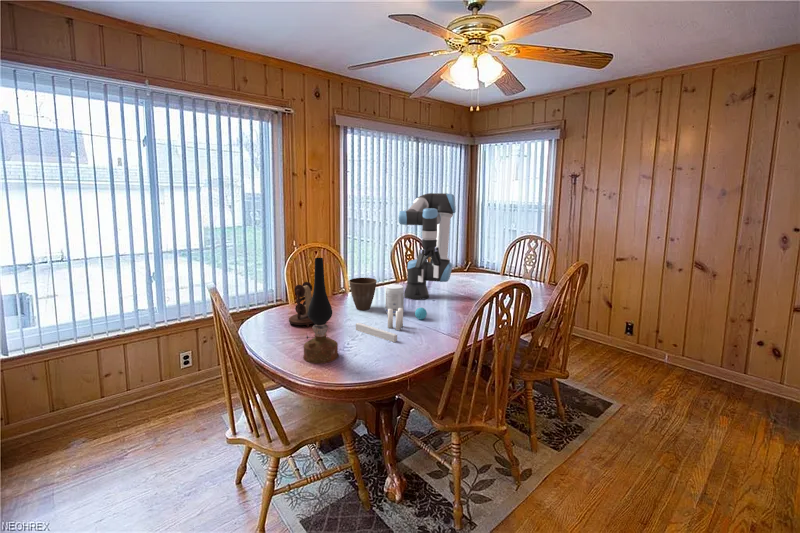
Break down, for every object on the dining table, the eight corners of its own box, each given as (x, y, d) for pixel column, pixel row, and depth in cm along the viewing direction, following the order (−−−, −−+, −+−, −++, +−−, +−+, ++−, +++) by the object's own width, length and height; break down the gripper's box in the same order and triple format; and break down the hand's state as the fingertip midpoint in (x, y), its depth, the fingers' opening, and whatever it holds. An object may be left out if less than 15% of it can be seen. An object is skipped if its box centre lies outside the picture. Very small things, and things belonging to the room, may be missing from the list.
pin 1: (390, 326, 201) (390, 308, 200) (393, 327, 200) (394, 309, 198) (386, 327, 199) (386, 309, 198) (390, 328, 198) (390, 310, 196)
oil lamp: (339, 358, 171) (352, 261, 171) (335, 367, 156) (349, 261, 156) (305, 354, 171) (318, 257, 171) (298, 362, 155) (312, 256, 155)
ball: (419, 316, 217) (420, 305, 216) (429, 319, 214) (429, 307, 212) (412, 319, 213) (412, 307, 212) (421, 321, 209) (422, 310, 208)
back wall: (359, 328, 197) (359, 322, 197) (397, 341, 182) (397, 334, 181) (355, 329, 196) (355, 323, 195) (394, 342, 180) (394, 335, 180)
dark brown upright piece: (309, 329, 196) (308, 287, 192) (282, 325, 200) (281, 285, 197) (325, 320, 209) (324, 281, 206) (299, 317, 214) (298, 278, 210)
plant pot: (375, 312, 223) (375, 283, 220) (347, 312, 223) (347, 283, 220) (377, 305, 238) (377, 277, 235) (351, 304, 238) (351, 277, 235)
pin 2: (397, 328, 198) (398, 310, 196) (401, 329, 196) (402, 311, 195) (394, 329, 196) (394, 311, 195) (398, 331, 195) (398, 312, 193)
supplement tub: (396, 309, 230) (396, 283, 227) (407, 313, 223) (407, 286, 220) (382, 312, 224) (382, 285, 221) (393, 316, 217) (393, 289, 214)
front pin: (400, 325, 203) (400, 307, 201) (403, 326, 201) (404, 308, 200) (396, 326, 201) (397, 308, 200) (400, 327, 200) (400, 309, 198)
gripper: (437, 236, 224) (436, 275, 228) (408, 240, 205) (407, 282, 209) (449, 237, 219) (447, 277, 223) (420, 241, 201) (419, 284, 204)
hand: (428, 279), depth 216 cm, fingers open, 13 cm apart
